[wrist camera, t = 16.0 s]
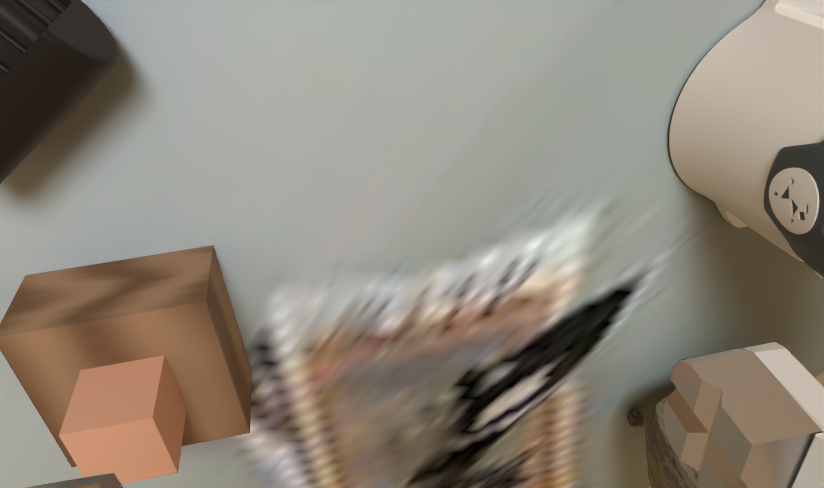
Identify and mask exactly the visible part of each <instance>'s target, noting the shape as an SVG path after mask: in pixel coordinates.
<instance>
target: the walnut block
mask: <svg viewBox="0 0 824 488" xmlns="http://www.w3.org/2000/svg"><path fill="white" fill-rule="evenodd" d="M0 350H1V352H2V354H3V355H4V357H5V358H6V360H7V362H8V363H9V365H10V367H11V368H12V370H13V372H14V373H15V375H16V376H17V378H18V380H19V381H20V383H21V385H22V386H23V388H24V390H25V391H26V393H27V394H28V396H29V398H30V399H31V401H32V403H33V404H34V406H35V408H36V409H37V411H38V412H39V414H40V416H41V417H42V419H43V421H44V422H45V424H46V426H47V427H48V429H49V430H50V432H51V434H52V435H53V437H54V439H55V440H56V442H57V444H58V445H59V447H60V448H61V450H62V452H63V453H64V455H65V457H66V458H67V460H68V462H69V463H70V465H71V466H72V467H75V466H77V465H76V463H75V462H74V460H73V458H72V457H71V455H70V453H69V452H68V450H67V448H66V447H65V445H64V443H63V442H62V440H61V438H60V437H59V433H60V430H61V427H62V424H63V421H64V418H65V415H66V412H67V409H68V406H69V403H70V400H71V397H72V394H73V391H74V388H75V386H76V383H77V380H78V377H79V374H80V371H81V370H85V369H90V368H96V367H102V366H107V365H113V364H118V363H124V362H130V361H135V360H141V359H147V358H152V357H158V356H165V358H166V361H167V363H168V365H169V368H170V370H171V373H172V375H173V378H174V380H175V383H176V385H177V387H178V390H179V392H180V395H181V397H182V400H183V402H184V404H185V407H186V416H185V424H184V431H183V438H182V446H184V445H189V444H194V443H200V442H205V441H210V440H215V439H220V438H225V437H231V436H236V435H241V434H246V433H250V409H251V376H252V371H251V368H250V364H249V361H248V358H247V355H246V351H245V348H244V345H243V342H242V338H241V335H240V332H239V329H238V325H237V322H236V319H235V316H234V312H233V309H232V306H231V303H230V299H229V296H228V293H227V290H226V286H225V283H224V280H223V277H222V273H221V270H220V267H219V264H218V260H217V257H216V254H215V251H214V247H213V246H207V247H201V248H195V249H189V250H183V251H176V252H170V253H164V254H158V255H151V256H145V257H139V258H133V259H126V260H120V261H114V262H108V263H102V264H95V265H89V266H83V267H77V268H70V269H64V270H58V271H52V272H46V273H39V274H33V275H27V276H25V277H24V279H23V281H22V283H21V285H20V287H19V289H18V291H17V293H16V295H15V297H14V299H13V301H12V302H11V304H10V306H9V308H8V310H7V312H6V314H5V316H4V318H3V320H2V322H1V324H0Z"/></svg>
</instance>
